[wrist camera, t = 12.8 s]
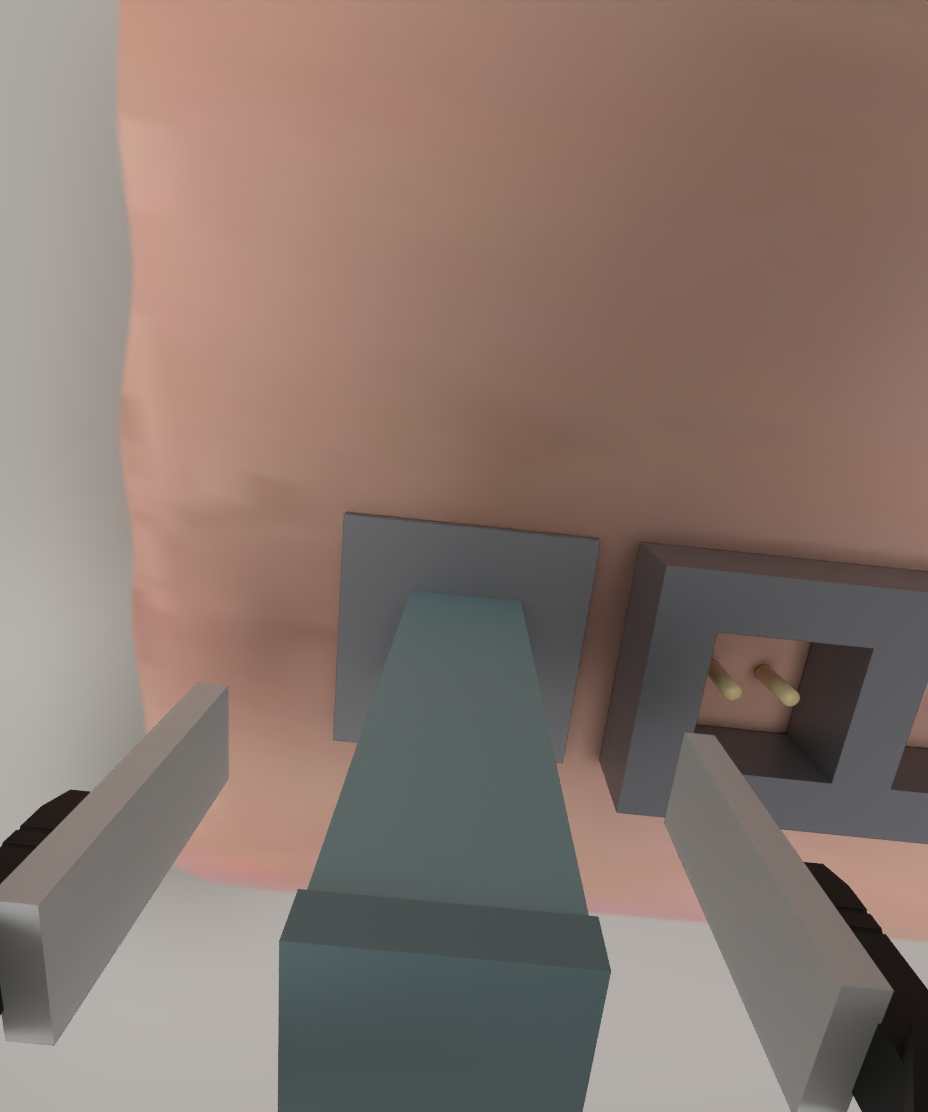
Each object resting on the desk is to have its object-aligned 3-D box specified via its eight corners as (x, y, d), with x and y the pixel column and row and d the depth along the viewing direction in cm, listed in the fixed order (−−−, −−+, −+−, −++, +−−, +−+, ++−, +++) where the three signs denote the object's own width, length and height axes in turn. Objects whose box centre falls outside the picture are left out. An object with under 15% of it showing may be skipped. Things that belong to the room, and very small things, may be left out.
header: (599, 760, 23) (616, 812, 20) (640, 541, 21) (666, 565, 18) (997, 801, 23) (1071, 858, 20) (1084, 588, 21) (1182, 618, 18)
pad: (335, 734, 23) (333, 740, 23) (346, 512, 21) (343, 514, 20) (561, 757, 23) (562, 763, 23) (597, 538, 21) (600, 540, 20)
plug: (400, 692, 22) (277, 1168, 8) (407, 587, 21) (278, 941, 7) (510, 702, 22) (565, 1195, 8) (524, 598, 21) (610, 971, 7)
